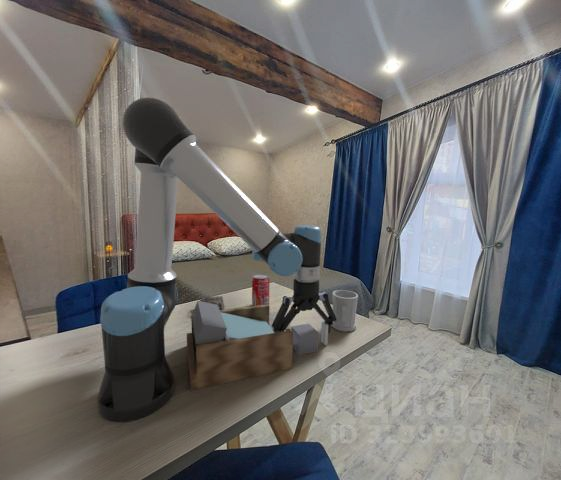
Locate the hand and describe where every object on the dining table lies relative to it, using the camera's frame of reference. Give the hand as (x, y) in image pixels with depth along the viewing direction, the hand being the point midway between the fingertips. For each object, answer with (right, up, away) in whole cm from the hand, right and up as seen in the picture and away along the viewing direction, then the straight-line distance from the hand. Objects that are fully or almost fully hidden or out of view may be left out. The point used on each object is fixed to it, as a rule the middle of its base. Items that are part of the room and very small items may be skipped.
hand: (304, 347), depth 82 cm
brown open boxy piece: (-20, -1, -5) cm, 21 cm away
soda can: (-16, +5, +31) cm, 35 cm away
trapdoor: (-20, +6, -6) cm, 22 cm away
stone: (-10, +2, +15) cm, 18 cm away
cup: (+15, +1, +14) cm, 21 cm away
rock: (-34, +4, +26) cm, 43 cm away
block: (0, 0, 0) cm, 0 cm away
